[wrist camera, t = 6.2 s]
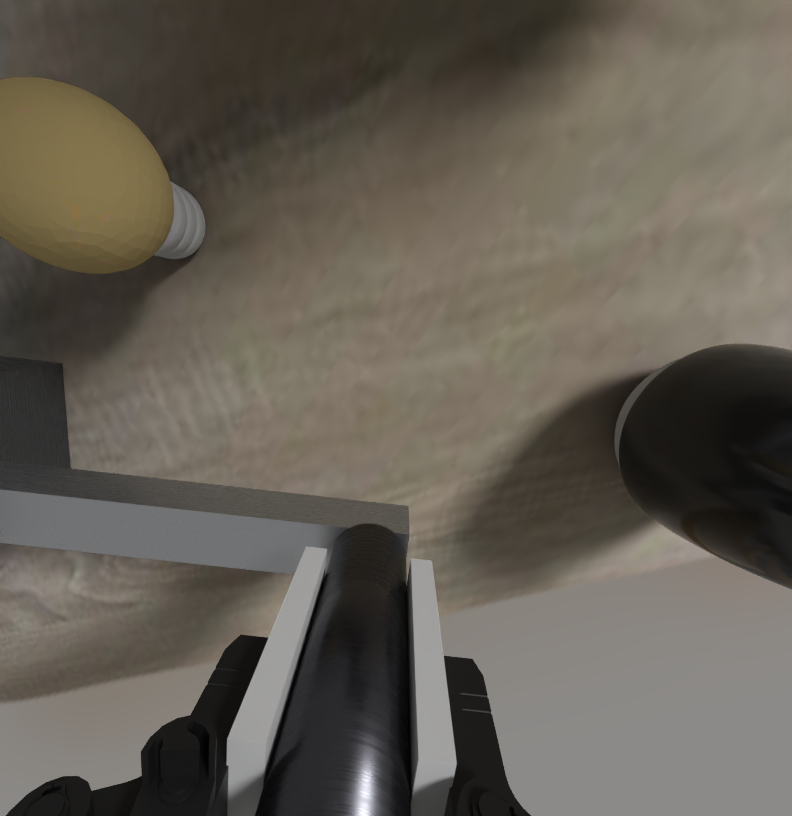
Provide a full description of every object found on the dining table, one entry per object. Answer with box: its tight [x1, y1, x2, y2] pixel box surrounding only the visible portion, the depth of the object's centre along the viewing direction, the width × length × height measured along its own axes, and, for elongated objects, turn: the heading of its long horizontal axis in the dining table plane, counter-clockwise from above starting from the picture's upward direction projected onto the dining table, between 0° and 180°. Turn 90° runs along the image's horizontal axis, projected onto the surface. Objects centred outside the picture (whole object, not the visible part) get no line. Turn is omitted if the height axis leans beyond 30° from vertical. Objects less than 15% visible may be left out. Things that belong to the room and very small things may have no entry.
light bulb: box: [0, 77, 206, 274], centre depth 17 cm, size 6×6×10 cm
